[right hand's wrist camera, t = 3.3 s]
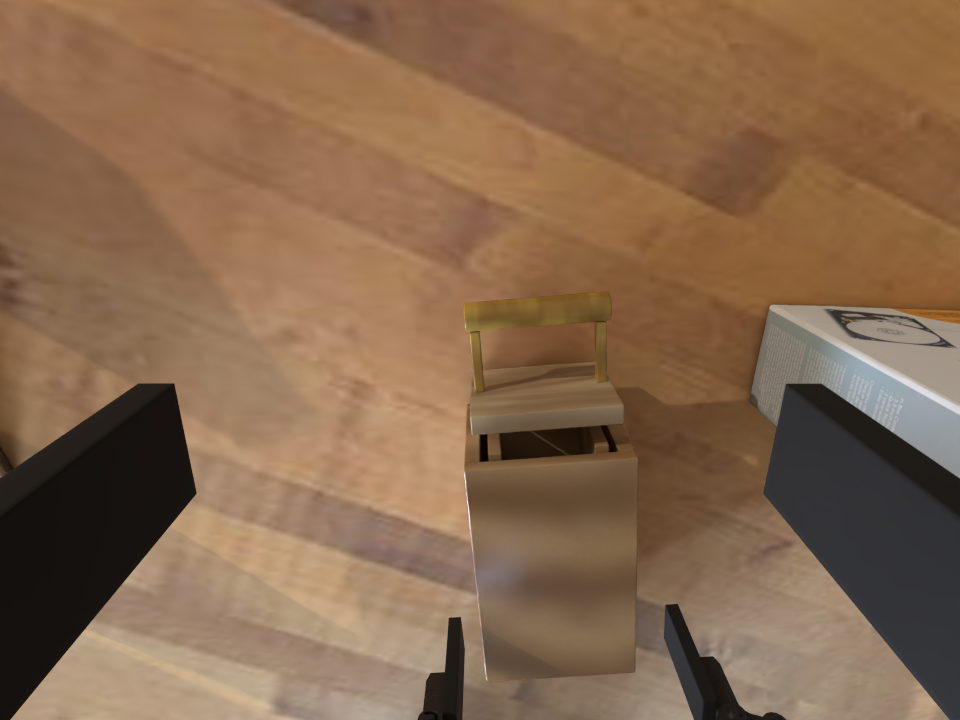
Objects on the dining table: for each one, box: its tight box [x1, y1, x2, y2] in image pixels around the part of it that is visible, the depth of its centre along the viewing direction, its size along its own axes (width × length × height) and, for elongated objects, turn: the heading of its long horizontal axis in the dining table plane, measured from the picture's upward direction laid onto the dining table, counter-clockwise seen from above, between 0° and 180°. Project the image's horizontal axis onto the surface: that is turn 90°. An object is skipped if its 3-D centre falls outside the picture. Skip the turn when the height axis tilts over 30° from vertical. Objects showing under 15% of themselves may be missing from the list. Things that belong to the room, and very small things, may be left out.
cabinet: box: [464, 404, 639, 682], centre depth 39 cm, size 16×10×9 cm, turn 5°
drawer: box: [464, 291, 624, 461], centre depth 37 cm, size 21×9×7 cm, turn 5°
